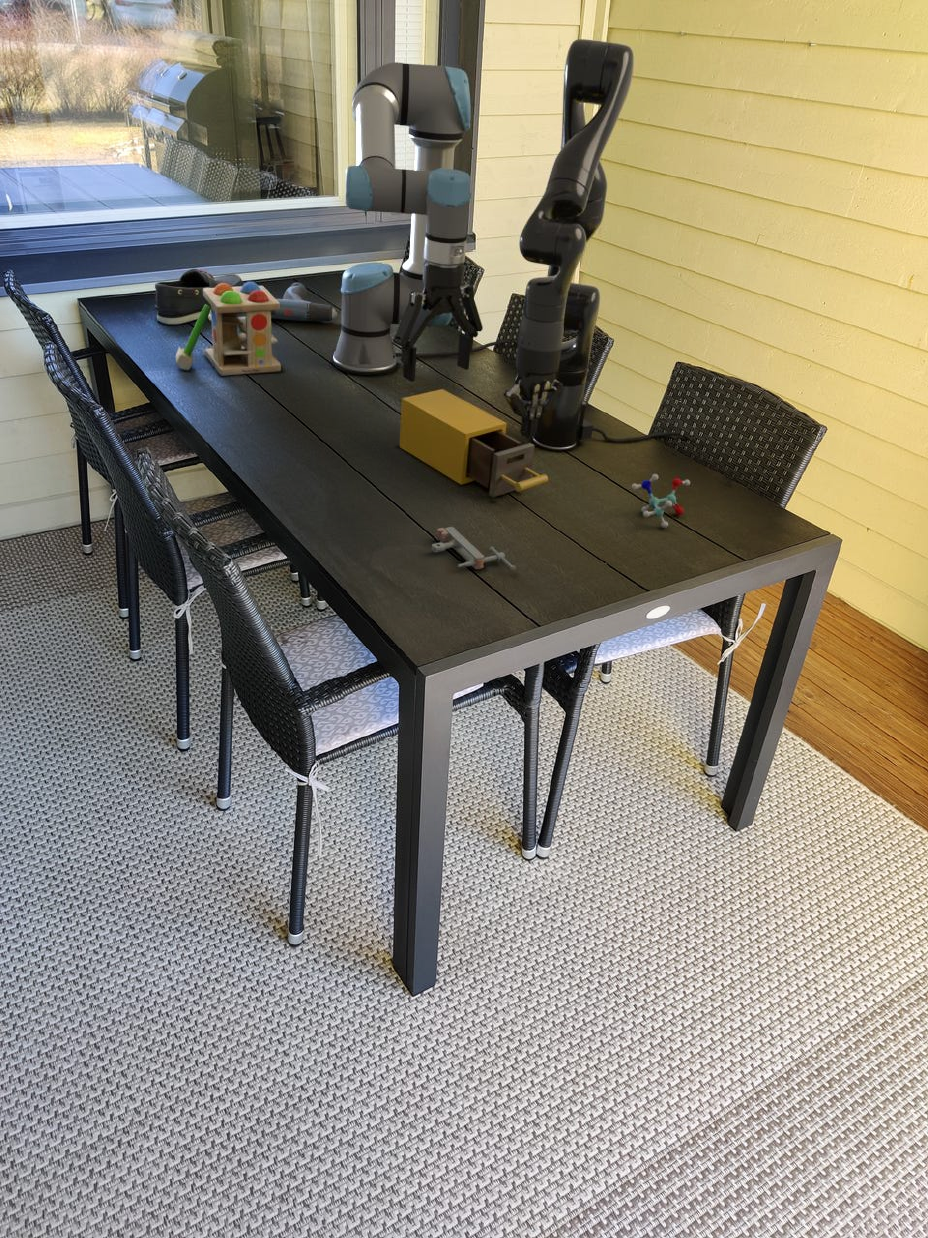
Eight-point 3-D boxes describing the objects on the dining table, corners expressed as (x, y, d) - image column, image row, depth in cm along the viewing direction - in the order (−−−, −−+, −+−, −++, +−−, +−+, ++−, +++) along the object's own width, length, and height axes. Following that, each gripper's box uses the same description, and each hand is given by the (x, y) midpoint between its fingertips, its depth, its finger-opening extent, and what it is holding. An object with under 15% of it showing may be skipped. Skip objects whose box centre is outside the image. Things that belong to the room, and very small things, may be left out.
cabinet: (501, 472, 195) (506, 423, 189) (461, 484, 189) (465, 434, 183) (438, 436, 207) (442, 388, 201) (399, 446, 201) (401, 398, 195)
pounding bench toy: (183, 379, 220) (176, 299, 210) (169, 357, 231) (162, 280, 221) (282, 371, 230) (280, 294, 220) (264, 350, 240) (262, 276, 230)
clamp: (422, 531, 168) (472, 521, 172) (421, 542, 169) (471, 532, 174) (465, 574, 157) (517, 562, 162) (464, 586, 159) (516, 573, 163)
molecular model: (693, 521, 176) (676, 468, 175) (642, 536, 180) (626, 484, 178) (699, 512, 187) (684, 462, 185) (651, 526, 190) (636, 477, 189)
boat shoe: (263, 303, 272) (261, 264, 267) (174, 326, 248) (170, 284, 243) (229, 294, 278) (227, 256, 272) (139, 317, 254) (134, 275, 248)
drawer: (549, 497, 185) (556, 456, 181) (514, 509, 180) (519, 467, 175) (467, 450, 200) (471, 410, 195) (432, 460, 195) (435, 419, 190)
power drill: (344, 304, 276) (335, 327, 259) (277, 298, 275) (264, 321, 258) (344, 285, 273) (335, 306, 256) (277, 279, 272) (264, 300, 255)
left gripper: (402, 275, 171) (397, 391, 183) (507, 260, 185) (496, 368, 197) (377, 264, 176) (373, 377, 188) (481, 250, 190) (472, 356, 202)
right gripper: (526, 355, 162) (515, 451, 172) (582, 343, 170) (568, 436, 179) (496, 341, 167) (487, 435, 176) (552, 330, 174) (539, 421, 184)
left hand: (436, 373), depth 193 cm, fingers open, 13 cm apart
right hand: (527, 435), depth 178 cm, fingers closed
